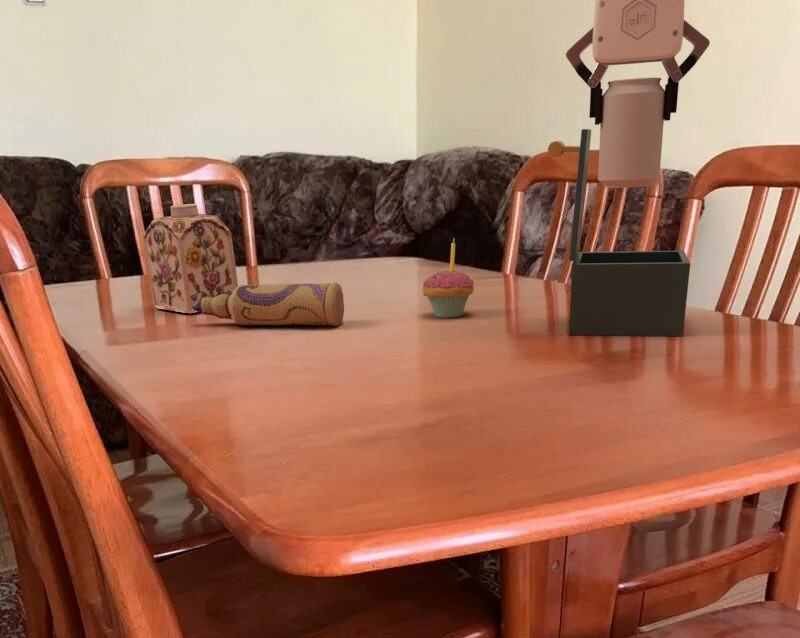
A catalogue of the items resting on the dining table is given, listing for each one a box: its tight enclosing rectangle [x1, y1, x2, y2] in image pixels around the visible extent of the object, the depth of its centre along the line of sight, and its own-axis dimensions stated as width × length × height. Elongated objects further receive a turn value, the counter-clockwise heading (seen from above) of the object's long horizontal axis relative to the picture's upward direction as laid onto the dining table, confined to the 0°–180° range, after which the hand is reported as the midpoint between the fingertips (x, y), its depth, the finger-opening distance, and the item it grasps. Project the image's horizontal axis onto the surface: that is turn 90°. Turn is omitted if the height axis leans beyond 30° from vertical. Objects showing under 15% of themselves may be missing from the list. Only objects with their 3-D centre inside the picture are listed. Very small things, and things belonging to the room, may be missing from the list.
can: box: [597, 77, 666, 189], centre depth 102 cm, size 8×8×12 cm
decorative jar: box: [142, 203, 239, 311], centre depth 151 cm, size 12×12×18 cm
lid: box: [547, 128, 592, 262], centre depth 118 cm, size 17×14×5 cm
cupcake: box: [422, 237, 475, 319], centre depth 135 cm, size 9×8×12 cm
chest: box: [568, 250, 691, 337], centre depth 122 cm, size 16×14×10 cm
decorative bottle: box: [192, 282, 345, 327], centre depth 135 cm, size 26×8×7 cm, turn 76°
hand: (631, 121), depth 101 cm, fingers closed on can, 7 cm apart
